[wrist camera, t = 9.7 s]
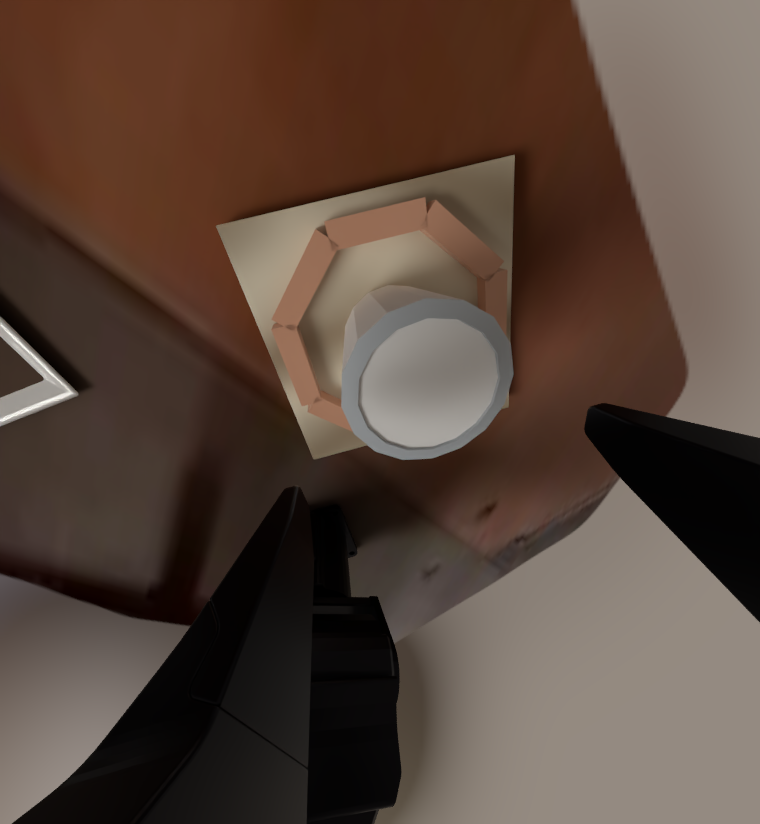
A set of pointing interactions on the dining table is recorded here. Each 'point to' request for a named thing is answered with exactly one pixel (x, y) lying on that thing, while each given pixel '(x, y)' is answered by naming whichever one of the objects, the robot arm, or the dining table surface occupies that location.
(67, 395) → the dessert
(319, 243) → the coaster ring
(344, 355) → the shot glass
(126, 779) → the robot arm
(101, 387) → the dining table surface
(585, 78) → the dining table surface
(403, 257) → the serving board
